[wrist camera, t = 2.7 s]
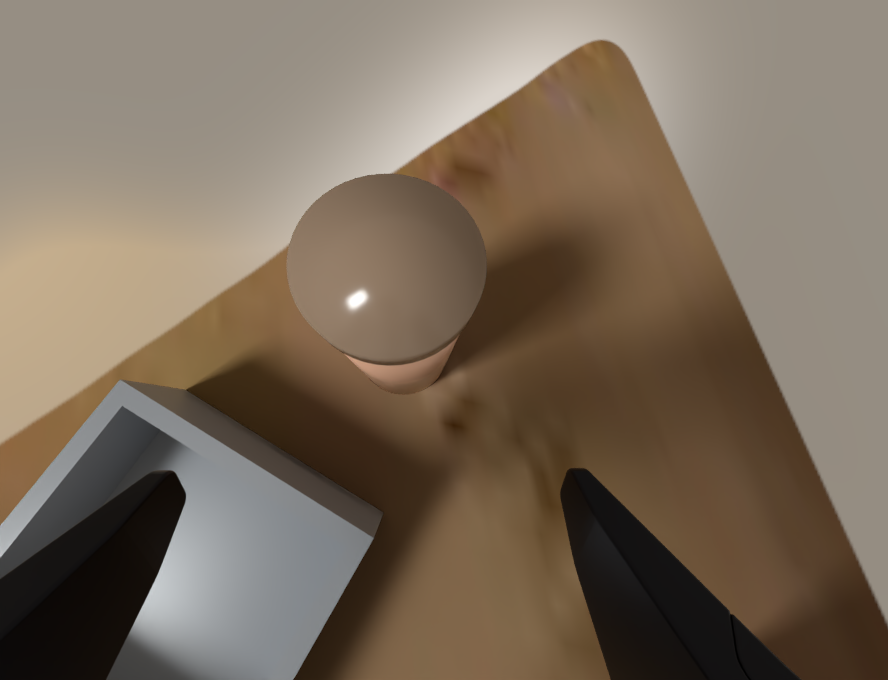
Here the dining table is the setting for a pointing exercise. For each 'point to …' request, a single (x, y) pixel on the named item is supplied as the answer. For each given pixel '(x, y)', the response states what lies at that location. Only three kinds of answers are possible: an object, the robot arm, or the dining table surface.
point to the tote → (207, 536)
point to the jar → (388, 276)
